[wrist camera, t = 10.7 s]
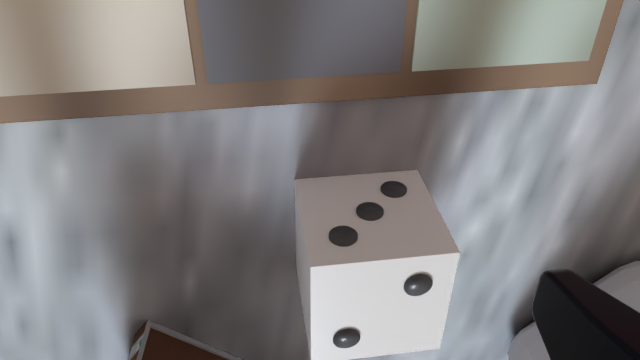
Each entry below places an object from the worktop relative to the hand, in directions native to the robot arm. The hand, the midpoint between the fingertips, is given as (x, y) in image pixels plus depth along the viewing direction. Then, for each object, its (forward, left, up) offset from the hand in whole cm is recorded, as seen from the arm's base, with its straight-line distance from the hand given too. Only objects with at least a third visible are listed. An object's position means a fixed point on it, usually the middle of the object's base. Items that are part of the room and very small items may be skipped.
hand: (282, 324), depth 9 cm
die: (+4, -8, -12) cm, 15 cm away
